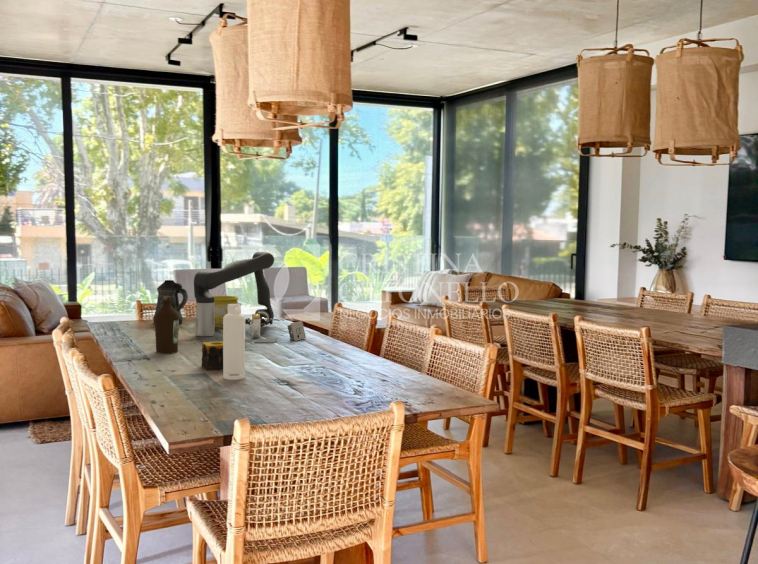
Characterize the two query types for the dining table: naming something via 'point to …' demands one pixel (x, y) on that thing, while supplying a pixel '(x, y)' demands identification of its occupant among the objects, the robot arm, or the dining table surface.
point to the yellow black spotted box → (212, 355)
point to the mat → (265, 341)
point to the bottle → (233, 343)
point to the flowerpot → (222, 308)
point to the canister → (255, 325)
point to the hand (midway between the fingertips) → (257, 323)
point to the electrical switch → (296, 331)
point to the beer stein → (171, 296)
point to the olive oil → (166, 328)
